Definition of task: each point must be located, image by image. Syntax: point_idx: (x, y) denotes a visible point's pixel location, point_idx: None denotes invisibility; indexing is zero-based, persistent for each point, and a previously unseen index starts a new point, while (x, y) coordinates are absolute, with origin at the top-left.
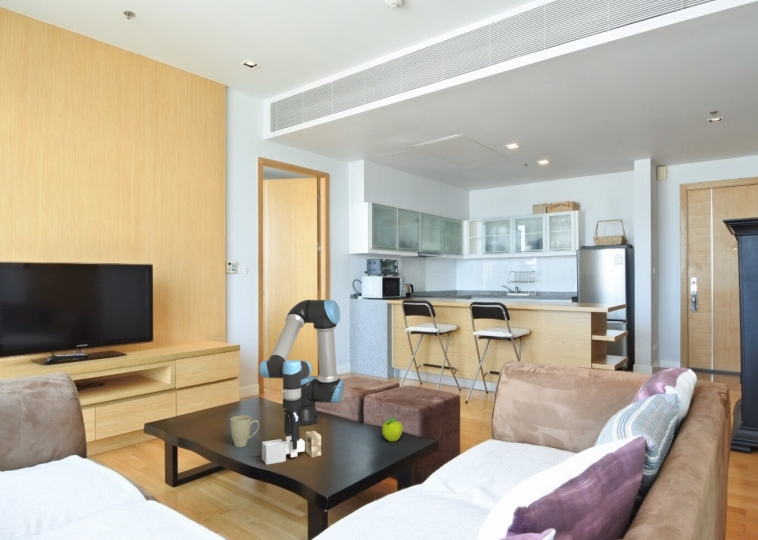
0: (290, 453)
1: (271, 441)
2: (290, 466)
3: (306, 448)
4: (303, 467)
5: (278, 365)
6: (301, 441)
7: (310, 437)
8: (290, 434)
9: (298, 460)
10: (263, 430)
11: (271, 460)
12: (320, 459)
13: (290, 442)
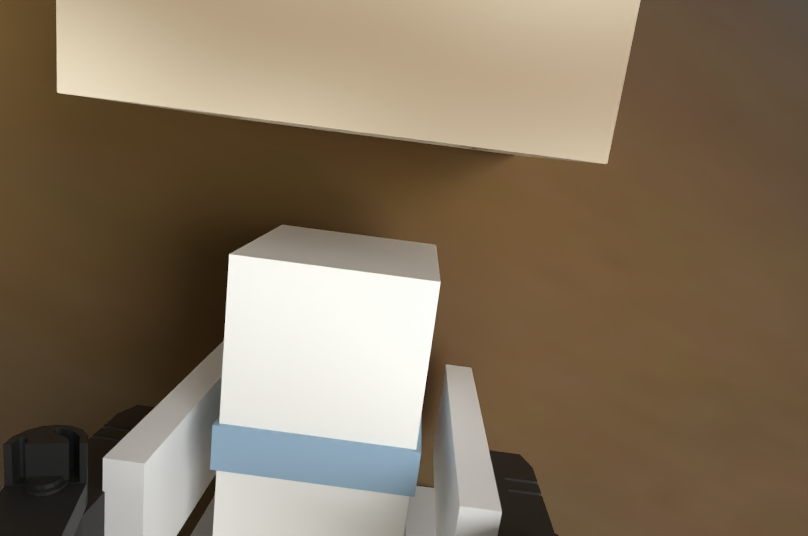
0: (434, 474)
1: None
2: (628, 512)
3: (266, 122)
4: (763, 409)
5: None
6: (404, 339)
7: (472, 146)
8: (85, 515)
9: (510, 356)
10: None
11: None
12: (670, 92)
13: (336, 533)
